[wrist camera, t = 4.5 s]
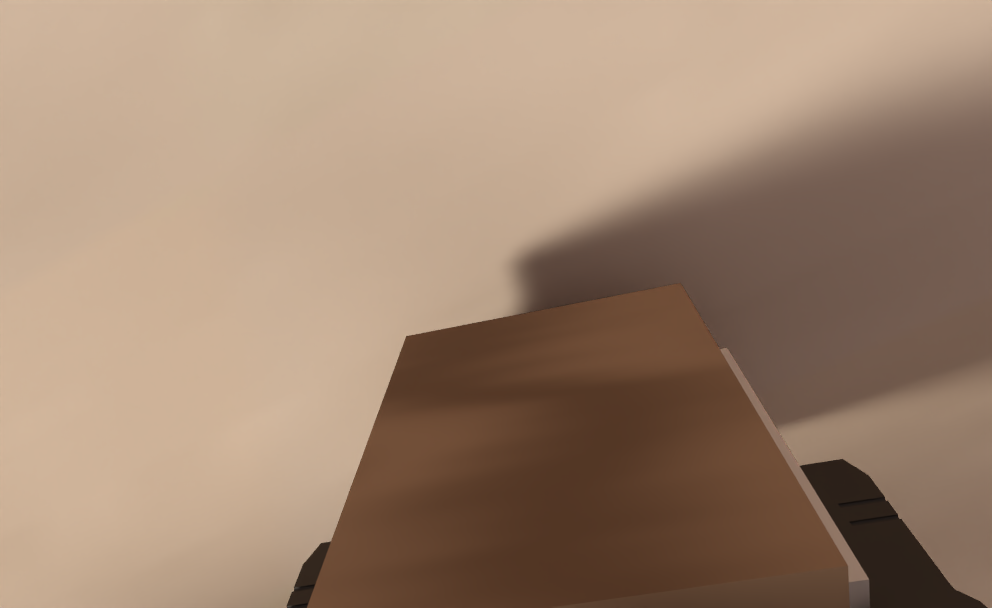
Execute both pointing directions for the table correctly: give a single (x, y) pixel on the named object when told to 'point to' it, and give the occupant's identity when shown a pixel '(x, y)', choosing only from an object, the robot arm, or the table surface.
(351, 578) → the walnut block
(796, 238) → the table surface
